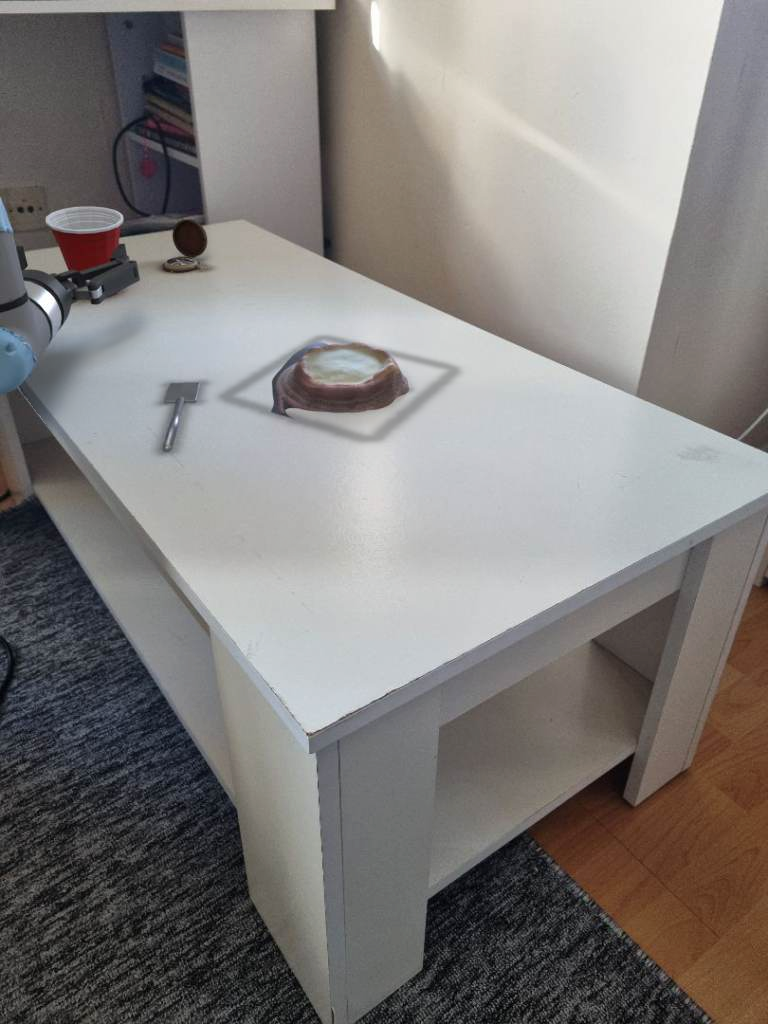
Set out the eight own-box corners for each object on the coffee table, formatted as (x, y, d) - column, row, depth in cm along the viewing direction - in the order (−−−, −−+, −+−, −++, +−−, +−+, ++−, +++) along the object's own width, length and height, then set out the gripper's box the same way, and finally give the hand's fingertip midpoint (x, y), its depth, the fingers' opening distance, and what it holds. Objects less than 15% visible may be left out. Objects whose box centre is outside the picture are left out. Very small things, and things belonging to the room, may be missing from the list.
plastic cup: (90, 314, 117) (73, 230, 110) (49, 297, 122) (29, 216, 116) (151, 294, 124) (138, 213, 117) (109, 279, 129) (94, 201, 123)
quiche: (321, 340, 109) (320, 312, 107) (456, 373, 101) (458, 343, 99) (223, 401, 94) (219, 370, 92) (371, 445, 86) (370, 412, 84)
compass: (155, 273, 132) (148, 228, 127) (179, 259, 138) (173, 215, 134) (199, 278, 130) (193, 232, 125) (221, 264, 136) (216, 219, 132)
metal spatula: (149, 456, 84) (148, 448, 84) (171, 388, 97) (169, 381, 96) (184, 455, 84) (183, 447, 84) (201, 387, 97) (200, 380, 97)
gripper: (-72, 345, 94) (-13, 284, 112) (144, 338, 96) (169, 279, 113) (-94, 281, 90) (-29, 228, 107) (132, 276, 91) (161, 224, 109)
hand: (73, 254), depth 110 cm, fingers open, 13 cm apart
